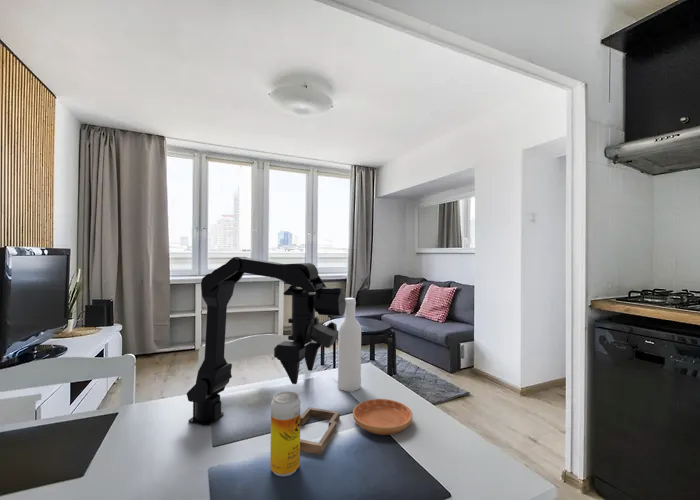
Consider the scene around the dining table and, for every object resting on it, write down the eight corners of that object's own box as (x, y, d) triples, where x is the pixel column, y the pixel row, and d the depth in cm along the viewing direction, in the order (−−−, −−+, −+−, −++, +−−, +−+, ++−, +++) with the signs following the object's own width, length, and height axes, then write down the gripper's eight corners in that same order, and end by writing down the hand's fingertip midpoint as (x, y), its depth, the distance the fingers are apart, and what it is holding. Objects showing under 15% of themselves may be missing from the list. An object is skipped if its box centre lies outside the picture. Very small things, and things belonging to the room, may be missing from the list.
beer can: (293, 480, 65) (294, 404, 65) (265, 475, 66) (266, 401, 66) (303, 461, 71) (304, 392, 71) (277, 457, 72) (278, 389, 72)
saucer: (343, 431, 84) (343, 419, 84) (364, 404, 99) (364, 394, 99) (405, 445, 78) (405, 433, 78) (417, 414, 92) (417, 404, 93)
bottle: (339, 381, 115) (340, 296, 115) (361, 382, 114) (362, 297, 114) (336, 391, 107) (337, 299, 107) (360, 392, 106) (360, 300, 106)
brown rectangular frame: (277, 446, 76) (277, 437, 76) (305, 413, 92) (305, 406, 92) (320, 454, 73) (321, 445, 73) (342, 419, 89) (342, 412, 89)
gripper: (319, 323, 70) (318, 397, 70) (345, 309, 88) (345, 367, 87) (273, 320, 73) (272, 390, 73) (307, 307, 91) (306, 363, 91)
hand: (302, 376), depth 81 cm, fingers open, 9 cm apart
